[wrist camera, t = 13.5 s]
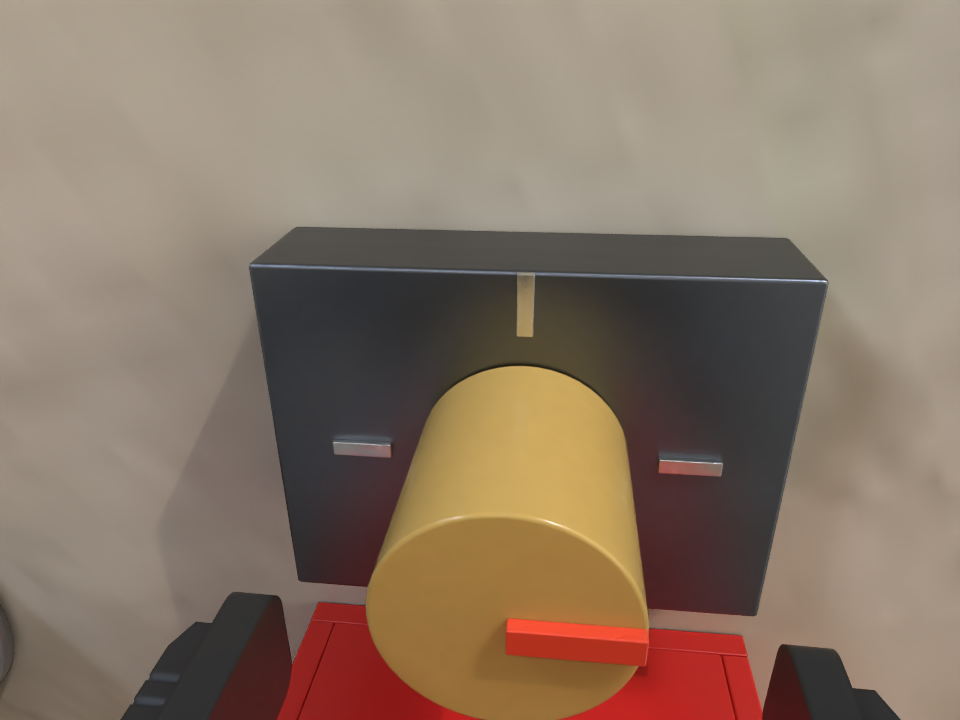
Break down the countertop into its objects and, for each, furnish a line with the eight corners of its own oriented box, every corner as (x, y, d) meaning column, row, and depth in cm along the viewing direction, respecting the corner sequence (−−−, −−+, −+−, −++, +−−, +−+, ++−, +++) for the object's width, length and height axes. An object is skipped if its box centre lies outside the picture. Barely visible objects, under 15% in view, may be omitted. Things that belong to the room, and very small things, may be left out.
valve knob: (425, 531, 18) (371, 727, 13) (416, 359, 16) (346, 517, 11) (619, 544, 18) (637, 753, 13) (636, 369, 15) (666, 538, 11)
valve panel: (330, 513, 22) (295, 587, 19) (294, 225, 18) (243, 266, 15) (733, 539, 21) (758, 622, 18) (790, 236, 17) (833, 283, 14)
